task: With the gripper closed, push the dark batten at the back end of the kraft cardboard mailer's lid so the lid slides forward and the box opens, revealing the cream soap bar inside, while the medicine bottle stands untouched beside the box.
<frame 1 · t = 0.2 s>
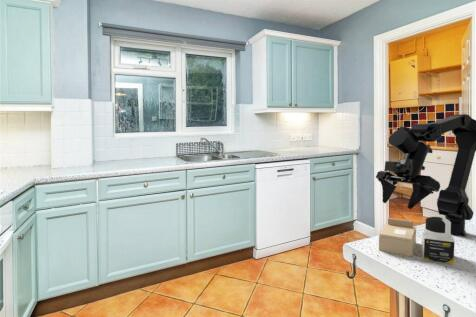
hand: (395, 205, 91), 14 cm above the counter, tool tilted 30°, fingers open, 9 cm apart
lid: (398, 228, 94), point 6 cm above the counter, slide at 0.0 cm
mailer box: (397, 247, 95), on the counter
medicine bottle: (436, 258, 87), on the counter
soap bar: (398, 244, 96), resting on mailer box
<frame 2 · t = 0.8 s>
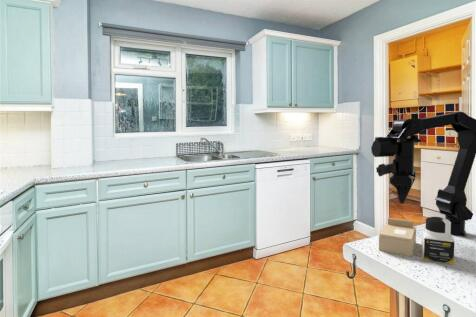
hand: (403, 200, 102), 13 cm above the counter, tool pointing down, fingers open, 8 cm apart
nothing on the counter moved.
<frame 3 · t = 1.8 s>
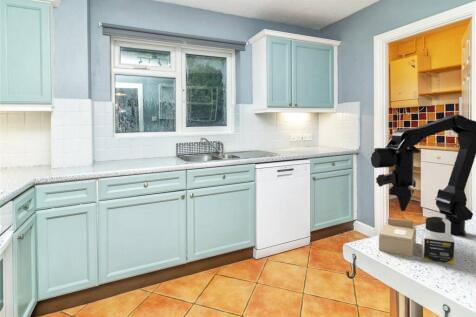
hand: (403, 210, 103), 9 cm above the counter, tool pointing down, fingers closed
nothing on the counter moved.
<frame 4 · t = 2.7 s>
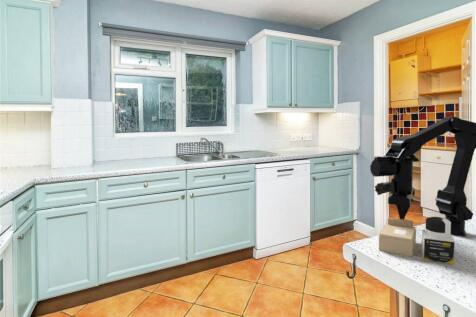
hand: (401, 219, 102), 7 cm above the counter, tool pointing down, fingers closed
nothing on the counter moved.
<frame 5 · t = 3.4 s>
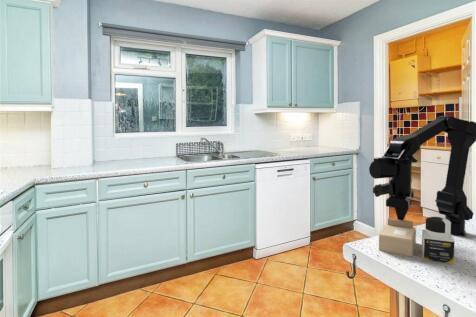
hand: (400, 222, 99), 7 cm above the counter, tool pointing down, fingers closed
lid: (397, 228, 94), point 6 cm above the counter, slide at 0.5 cm, touching gripper
everything else where it was.
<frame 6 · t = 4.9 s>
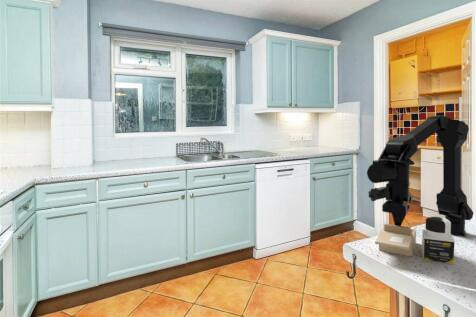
hand: (397, 228, 94), 7 cm above the counter, tool pointing down, fingers closed
lid: (394, 235, 88), point 6 cm above the counter, slide at 7.2 cm, touching gripper
everything else where it was.
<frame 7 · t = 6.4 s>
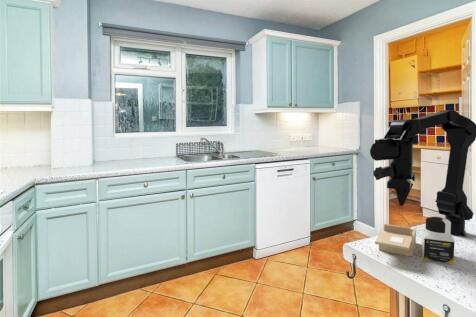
hand: (401, 205, 97), 13 cm above the counter, tool pointing down, fingers closed
lid: (394, 235, 88), point 6 cm above the counter, slide at 7.2 cm
everything else where it was.
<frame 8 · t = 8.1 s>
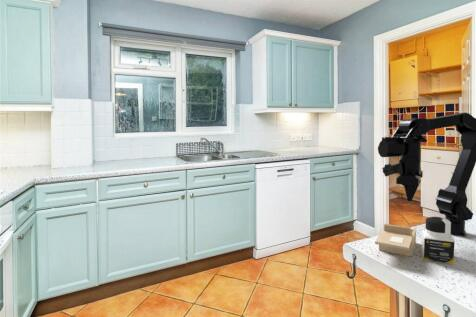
hand: (409, 200, 101), 13 cm above the counter, tool pointing down, fingers closed
nothing on the counter moved.
at the end: lid slide at 7.2 cm; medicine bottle moved 0.2 cm from its start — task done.
